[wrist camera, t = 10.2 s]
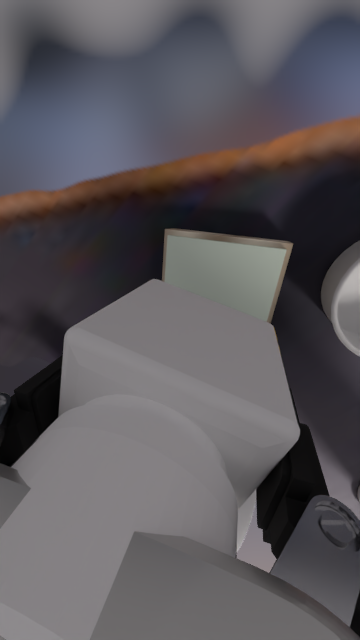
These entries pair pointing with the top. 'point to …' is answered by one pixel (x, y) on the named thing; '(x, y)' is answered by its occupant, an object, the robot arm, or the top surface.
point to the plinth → (227, 268)
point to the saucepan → (344, 297)
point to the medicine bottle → (141, 451)
